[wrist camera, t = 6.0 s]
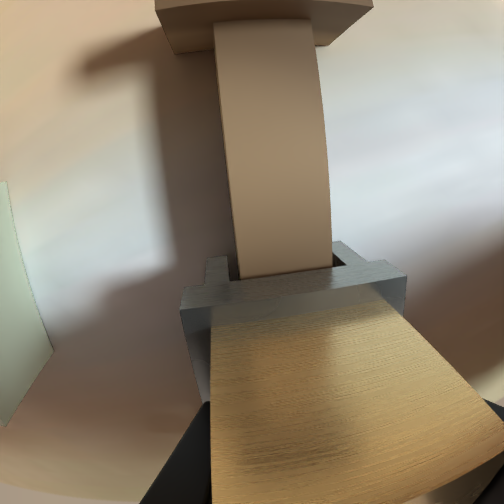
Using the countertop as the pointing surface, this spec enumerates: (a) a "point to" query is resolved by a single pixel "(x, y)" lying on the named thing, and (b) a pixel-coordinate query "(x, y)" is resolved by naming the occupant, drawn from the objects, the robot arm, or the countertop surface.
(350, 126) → the countertop surface
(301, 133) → the brown i-shaped bar
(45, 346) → the cabinet
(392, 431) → the carriage
